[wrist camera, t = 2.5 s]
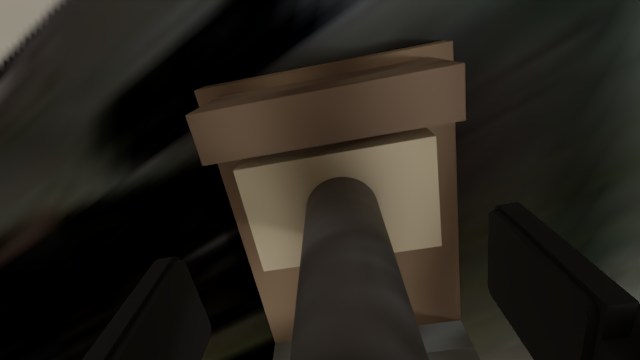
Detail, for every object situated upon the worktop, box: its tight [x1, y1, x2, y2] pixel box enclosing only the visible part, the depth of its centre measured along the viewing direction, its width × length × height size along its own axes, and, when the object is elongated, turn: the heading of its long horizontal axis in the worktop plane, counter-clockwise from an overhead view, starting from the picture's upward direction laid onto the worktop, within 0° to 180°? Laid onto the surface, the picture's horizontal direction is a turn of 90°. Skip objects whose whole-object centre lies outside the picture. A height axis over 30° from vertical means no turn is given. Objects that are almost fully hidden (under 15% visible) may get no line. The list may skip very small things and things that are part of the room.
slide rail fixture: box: [185, 41, 480, 360], centre depth 18 cm, size 12×22×7 cm, turn 10°
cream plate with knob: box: [233, 127, 442, 360], centre depth 11 cm, size 8×5×10 cm, turn 100°
